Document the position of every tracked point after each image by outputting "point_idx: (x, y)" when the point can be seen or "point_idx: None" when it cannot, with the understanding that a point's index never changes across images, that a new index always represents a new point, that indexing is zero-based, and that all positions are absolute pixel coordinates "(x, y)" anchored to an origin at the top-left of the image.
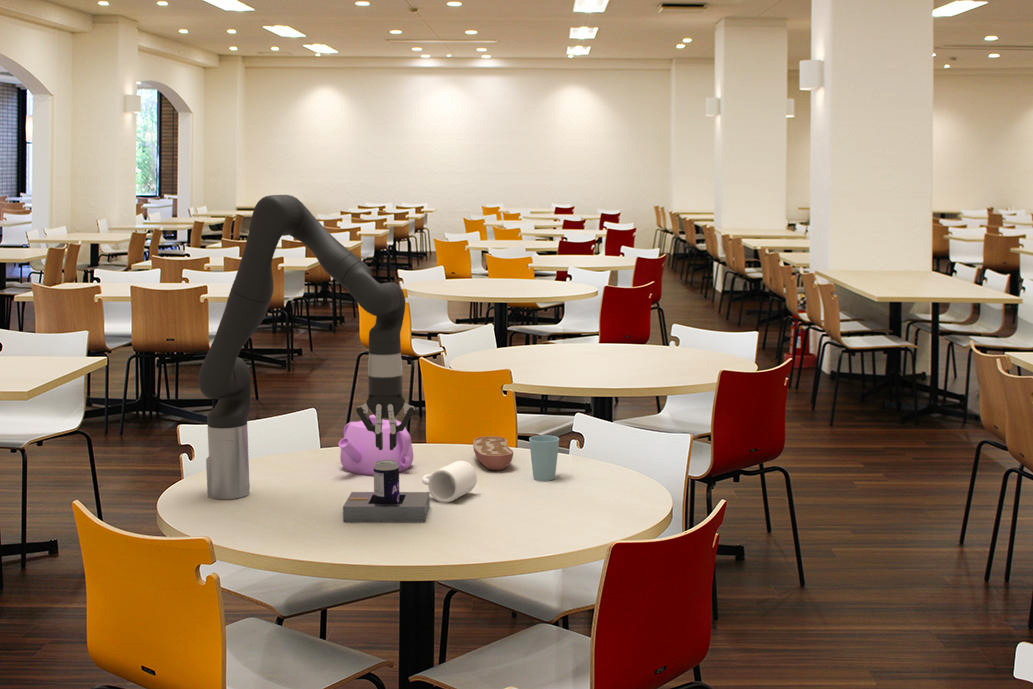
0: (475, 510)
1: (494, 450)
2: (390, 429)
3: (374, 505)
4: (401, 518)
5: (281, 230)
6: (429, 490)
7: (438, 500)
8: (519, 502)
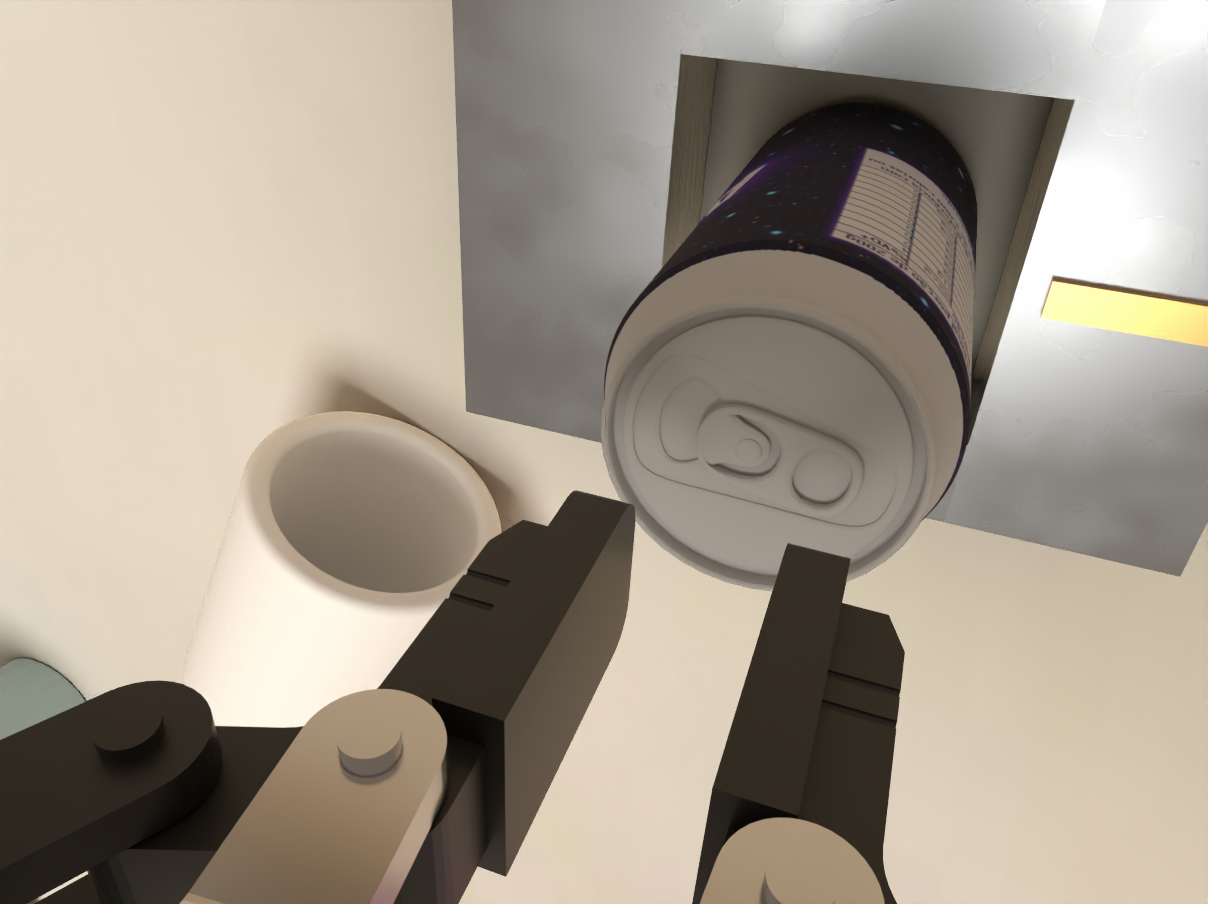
0: (210, 217)
1: None
2: (409, 815)
3: (1002, 21)
4: None
5: None
6: None
7: (465, 463)
8: (24, 343)
